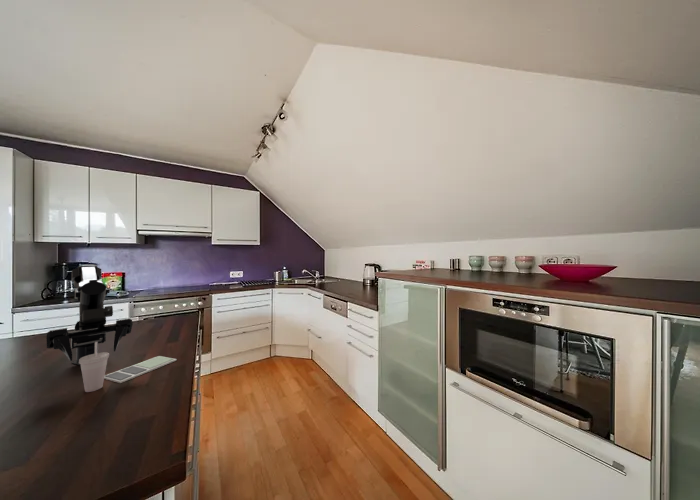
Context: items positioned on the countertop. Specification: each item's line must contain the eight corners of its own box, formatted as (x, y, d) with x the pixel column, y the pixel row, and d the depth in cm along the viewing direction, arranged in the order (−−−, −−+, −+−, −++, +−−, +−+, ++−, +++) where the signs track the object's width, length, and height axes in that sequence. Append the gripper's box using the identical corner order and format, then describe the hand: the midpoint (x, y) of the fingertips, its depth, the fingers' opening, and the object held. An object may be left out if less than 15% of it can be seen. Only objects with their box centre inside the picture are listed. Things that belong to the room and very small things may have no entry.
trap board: (101, 378, 79) (101, 376, 79) (158, 357, 96) (158, 355, 96) (120, 383, 76) (120, 381, 76) (176, 360, 92) (176, 358, 92)
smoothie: (88, 395, 69) (89, 346, 70) (71, 393, 71) (72, 344, 71) (114, 384, 76) (115, 338, 76) (98, 382, 77) (99, 337, 77)
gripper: (47, 303, 71) (44, 350, 64) (132, 295, 85) (137, 332, 78) (48, 325, 76) (45, 371, 69) (128, 314, 90) (133, 351, 83)
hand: (93, 355), depth 74 cm, fingers open, 9 cm apart
